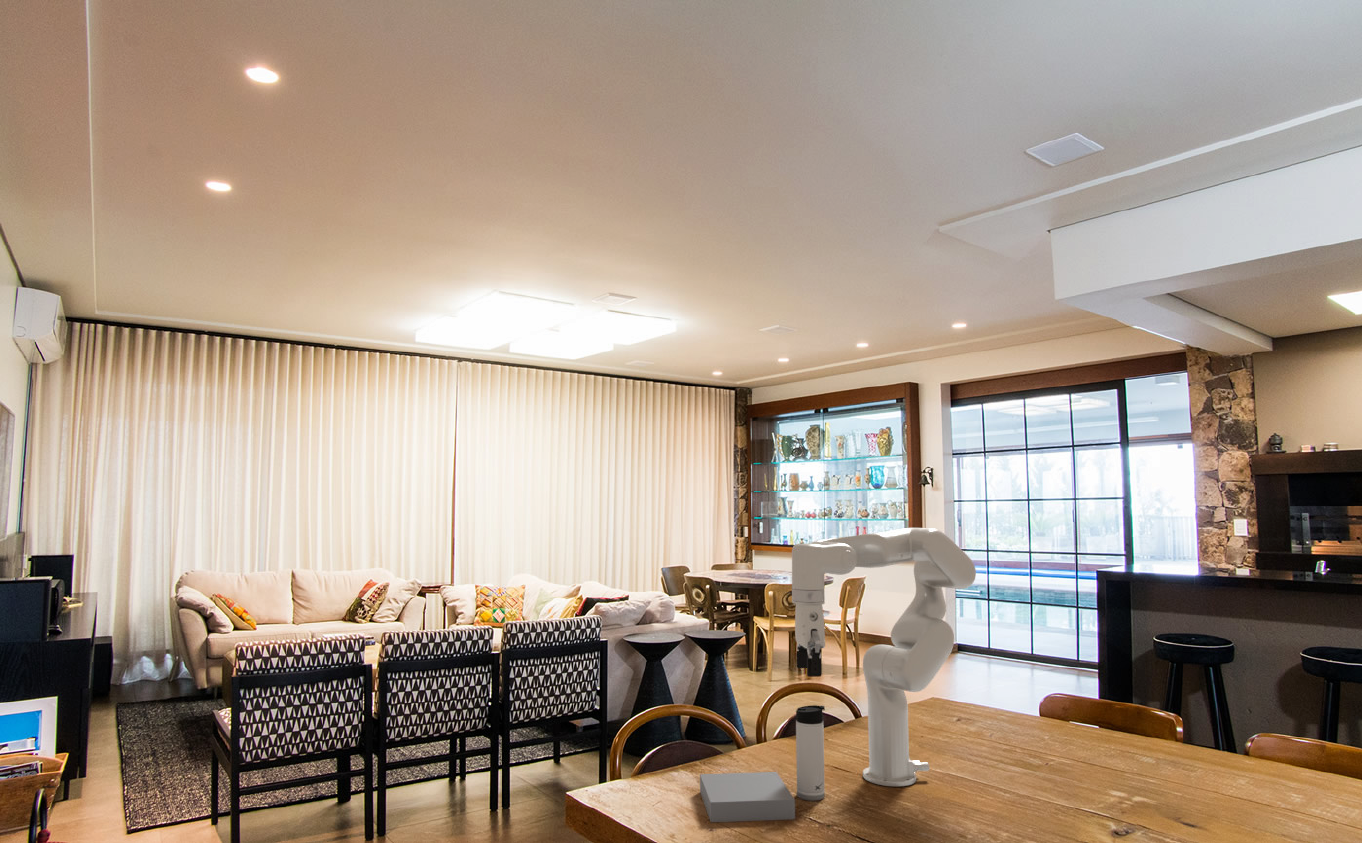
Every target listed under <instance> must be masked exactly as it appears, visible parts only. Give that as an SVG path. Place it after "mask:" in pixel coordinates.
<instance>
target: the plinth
mask: <svg viewBox="0 0 1362 843" xmlns="http://www.w3.org/2000/svg"><path fill="white" fill-rule="evenodd" d="M699 793H700V797H701V798H702V801H703V804H704V807H705V811H706V813H707V815H708V819H709V821H710V823H726V822H727V823H729V822H731V823H733V822H753V821H754V822H756V821H782V820H787V821H788V820H796V799H795V797H794V796H793V794H792V793H791V792H790V790H789V788H788V787H787V786H786V784H785V783H784V781H783V779H782V778H781V777H780V775H779V774H778V772H777V771H766V772H765V771H764V772H763V771H761V772H759V771H757V772H729V773H728V772H727V773H702V774H701V773H699Z"/></svg>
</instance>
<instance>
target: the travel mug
mask: <svg viewBox="0 0 1362 843" xmlns="http://www.w3.org/2000/svg"><path fill="white" fill-rule="evenodd" d="M824 711H826V708H825V706H824V705H816V704H815V705H804V706H800V707H798V708H797V709H796V710H795V716H796V718H795V737H796V738H795V739H796V740H795V741H796V742H795V746H796V747H795V748H796V752H795V754H796V758H795V759H796V796H797V797H798V798H799V799H801V800H802V801H803V800H804V801H810V802H815V801H822V800H823V799H824V798H825V737H824V736H825V735H824V734H825V732H824V729H825V728H824V713H823V712H824Z"/></svg>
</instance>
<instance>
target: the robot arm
mask: <svg viewBox="0 0 1362 843" xmlns="http://www.w3.org/2000/svg"><path fill="white" fill-rule="evenodd" d="M910 562H914V566H913V575H914V582H915V595H914V598H913V599H912V601H911V602H910V604H909V605H908V607H907V608H906V609H905V610H904V612H903V613H902V614H901V616H900V617H899V618H898V620H896V622H895V623H894V625H893V626H892V629H891V631H890V639H891V642H892V645H889V644H883V643H882V644H876V645H872V646H870V647H869V648H868V649H867V650H866V651H865V652H864V655H863V659H862V671H863V676H864V680H865V685H866V693H867V722H868V726H867V727H868V729H867V730H868V763H869V764H868V767H865V768H863V770H862V777H863V778H864V779H865V781H868V782H869V783H871V784H876V785H880V786H885V787H905V786H906V787H907V786H911V785H913V784H915V783H916V782H917V774H916V773H917V772H929V771H930V764H929V763H928V762H927V761H926V762H920V760H912V759H911V758H910V746H909V744H910V742H909V708H908V706H909V704H908V699H907V695H906V693H905V691H906V692H909V693H910V692H911V693H918V692H921V691H923V690H925V689H926V688H927V687H928V686H929V685H930V684H931V682H932V681H933V680H934V678H935V677H936V675H937V674H938V672H940V670H941V668H942V667H943V665H944V664H945V662H947V660H948V659H949V658H950V657H949V656H950V655H951V654H952V651H953V648H954V644H955V634H954V630H953V629H952V627H951V625H950V624H949V623H948V622H947V621H945V620H943V619H944V618H945V616H946V612H947V604H946V599H945V596H944V593H943V592H944V591H943V588H946V589H955V590H962V589H967V588H969V587H971V586H972V584H973V583H974V582H975V580H976V573H977V570H976V567H975V564H974V562H973V561H972V559H971V558H970V557H969V555H968V554H967V553H966V552H965V551H963V549H961V547H959V546H958V544H956V542H955V541H954V540H953V539H951V537H949V536H948V535H946V534H945V533H944V532H942V531H940V530H939V529H936V528H931V527H929V528H928V527H905V528H904V527H903V528H898V529H891V530H887V531H880V532H874V533H873V532H872V533H864V534H858V535H850V536H841V537H834V538H825V539H819V540H815V541H811V543H797V544H794V545H793V547H792V549H791V603H792V604H795V609H794V610H795V615H794V617H795V618H794V622H795V623H794V634H795V642H796V643H797V644H796V668H797V669H806V675H807V677H808V678H811V677H812V678H813V677H814V678H818V677H819V678H820V677H822V649H825V647H826V634H825V618H824V617H825V616H824V615H825V614H824V608H823V605H824V604H825V600H826V599H825V574H830V575H836V576H840V575H843V576H844V575H847V574H850V573H851V572H853V571H854V569H855V568H864V569H865V568H866V569H867V568H868V569H869V568H870V569H871V568H872V569H874V568H884V567H889V566H893V565H898V564H905V563H910Z"/></svg>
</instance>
